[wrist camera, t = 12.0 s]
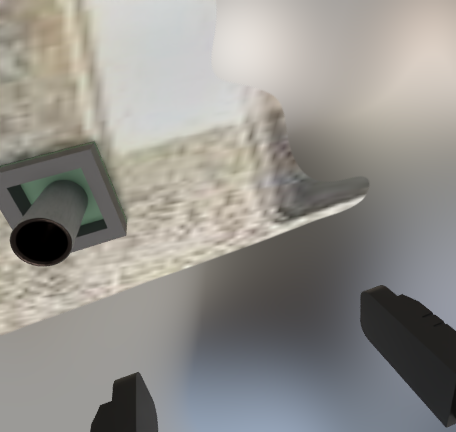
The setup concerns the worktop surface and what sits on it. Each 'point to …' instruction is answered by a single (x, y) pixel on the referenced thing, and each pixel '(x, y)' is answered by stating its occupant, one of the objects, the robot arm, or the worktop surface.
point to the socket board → (73, 171)
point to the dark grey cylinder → (50, 224)
